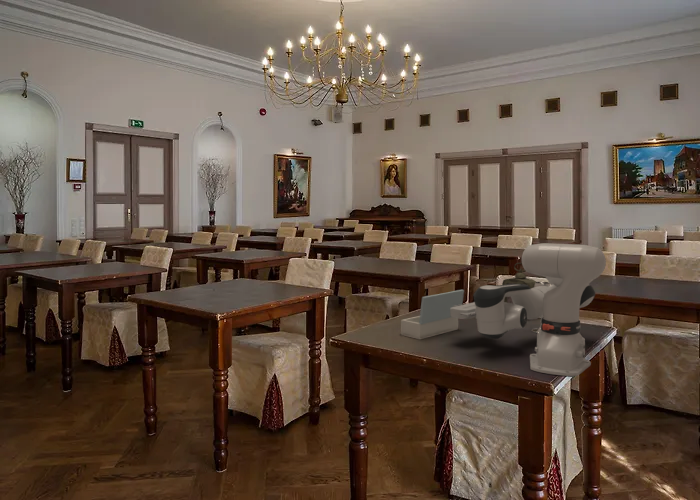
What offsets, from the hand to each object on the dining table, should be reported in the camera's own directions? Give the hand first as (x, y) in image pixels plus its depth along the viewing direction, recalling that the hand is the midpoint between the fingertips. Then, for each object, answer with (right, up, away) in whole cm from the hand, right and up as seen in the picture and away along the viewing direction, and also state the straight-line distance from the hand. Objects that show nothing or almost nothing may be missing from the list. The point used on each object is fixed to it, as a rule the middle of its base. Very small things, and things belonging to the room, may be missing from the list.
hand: (455, 307), depth 207 cm
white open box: (-8, -11, +10) cm, 17 cm away
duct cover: (-5, 0, +5) cm, 7 cm away
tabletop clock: (+37, -9, +37) cm, 53 cm away
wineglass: (+37, -11, +9) cm, 40 cm away
